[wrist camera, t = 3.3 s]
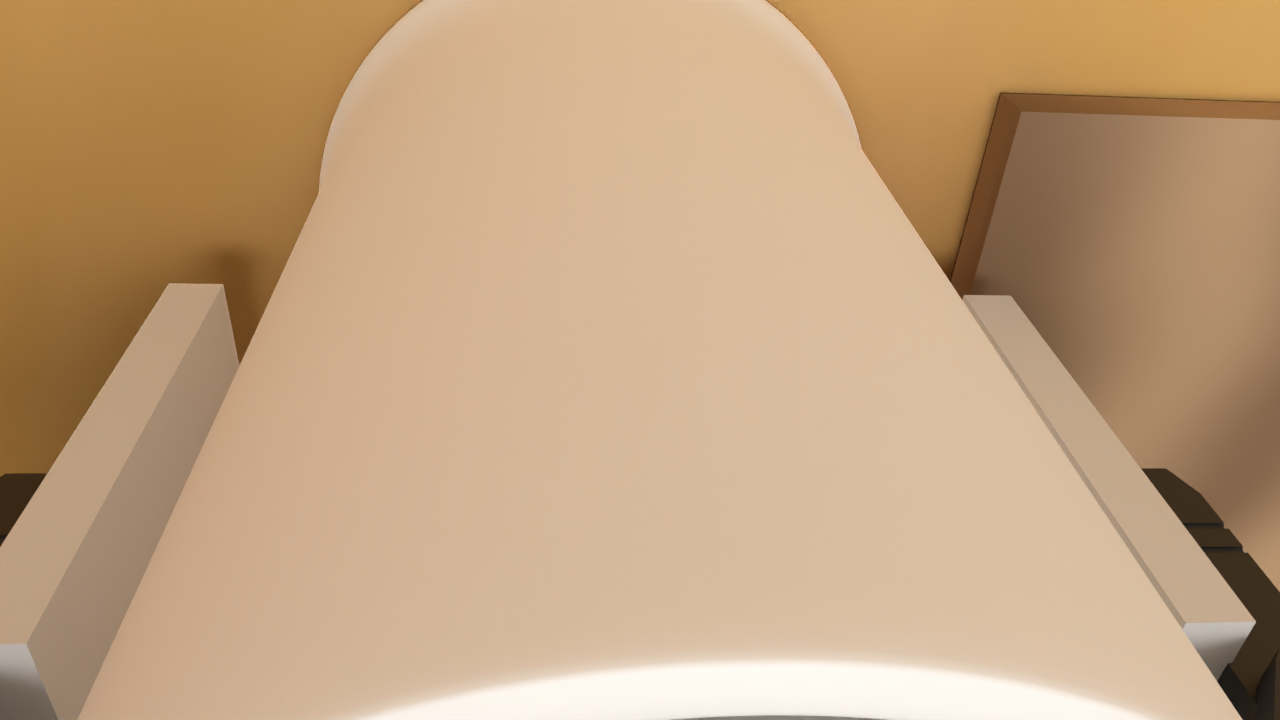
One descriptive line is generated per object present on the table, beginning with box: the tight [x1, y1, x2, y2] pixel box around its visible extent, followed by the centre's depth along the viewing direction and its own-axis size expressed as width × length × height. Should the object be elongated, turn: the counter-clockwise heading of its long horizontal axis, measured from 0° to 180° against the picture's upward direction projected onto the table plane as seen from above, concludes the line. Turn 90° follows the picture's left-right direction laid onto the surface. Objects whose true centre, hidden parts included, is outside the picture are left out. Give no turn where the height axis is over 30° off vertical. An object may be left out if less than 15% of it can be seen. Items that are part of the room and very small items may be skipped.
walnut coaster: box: [950, 93, 1280, 592], centre depth 19 cm, size 12×12×1 cm
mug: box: [77, 0, 1242, 720], centre depth 12 cm, size 12×8×12 cm
